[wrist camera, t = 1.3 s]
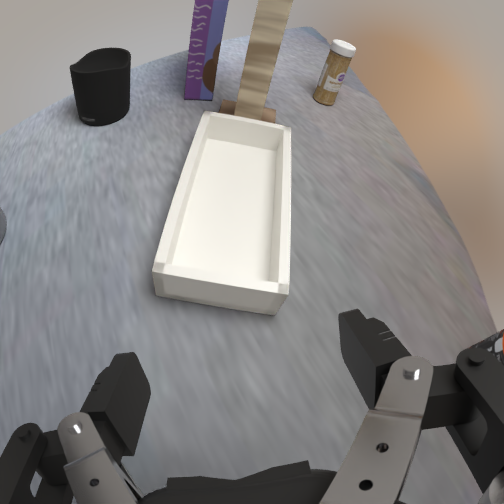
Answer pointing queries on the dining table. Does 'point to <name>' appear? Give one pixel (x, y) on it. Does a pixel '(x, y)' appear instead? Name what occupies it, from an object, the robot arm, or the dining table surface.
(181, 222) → the tray
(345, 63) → the sprinkles bottle
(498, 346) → the supplement bottle
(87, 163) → the dining table surface
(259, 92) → the bracket
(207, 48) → the purple book
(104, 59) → the pen holder
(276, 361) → the dining table surface
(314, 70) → the dining table surface
